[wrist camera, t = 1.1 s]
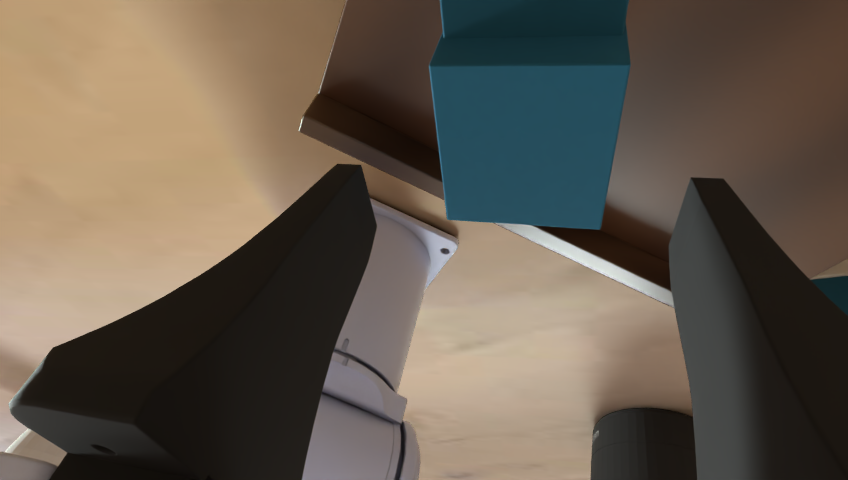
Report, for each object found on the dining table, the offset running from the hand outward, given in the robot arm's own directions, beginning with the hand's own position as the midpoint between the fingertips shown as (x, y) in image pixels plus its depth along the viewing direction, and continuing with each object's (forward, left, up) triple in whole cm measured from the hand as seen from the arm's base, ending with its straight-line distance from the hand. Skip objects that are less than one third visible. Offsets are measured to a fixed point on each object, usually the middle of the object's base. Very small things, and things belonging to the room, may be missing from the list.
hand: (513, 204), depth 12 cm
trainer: (+1, +1, -6) cm, 7 cm away
